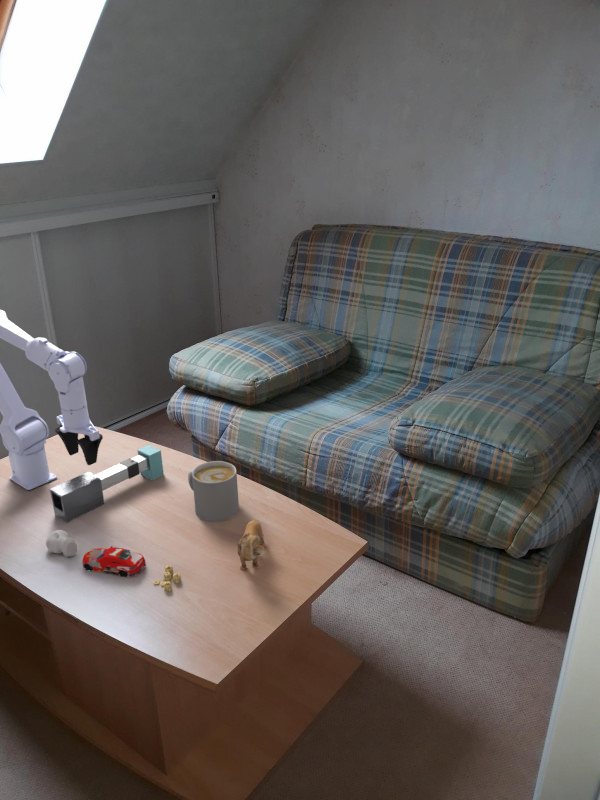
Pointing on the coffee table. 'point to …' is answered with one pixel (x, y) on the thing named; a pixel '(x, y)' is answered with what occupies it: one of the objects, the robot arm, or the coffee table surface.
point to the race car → (114, 561)
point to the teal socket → (152, 462)
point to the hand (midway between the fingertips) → (82, 458)
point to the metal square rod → (123, 471)
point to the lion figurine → (251, 544)
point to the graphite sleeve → (77, 496)
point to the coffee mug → (215, 490)
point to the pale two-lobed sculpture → (61, 543)
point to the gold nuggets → (168, 578)
